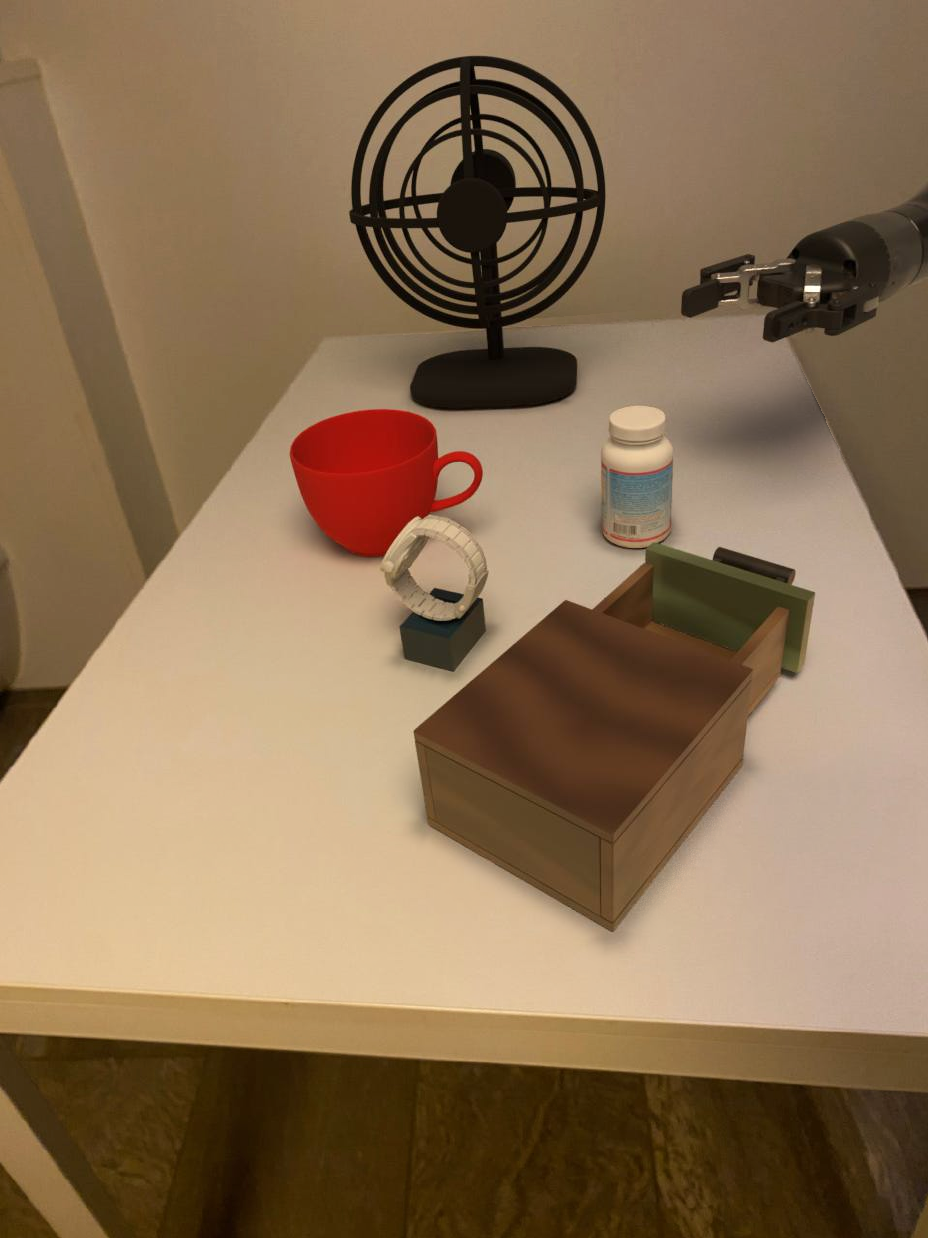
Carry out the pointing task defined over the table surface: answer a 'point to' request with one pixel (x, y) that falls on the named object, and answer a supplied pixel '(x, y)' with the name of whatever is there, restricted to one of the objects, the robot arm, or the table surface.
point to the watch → (437, 595)
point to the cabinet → (585, 756)
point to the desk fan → (481, 238)
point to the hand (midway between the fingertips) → (723, 316)
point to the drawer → (720, 609)
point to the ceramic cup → (373, 475)
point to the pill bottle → (636, 478)
